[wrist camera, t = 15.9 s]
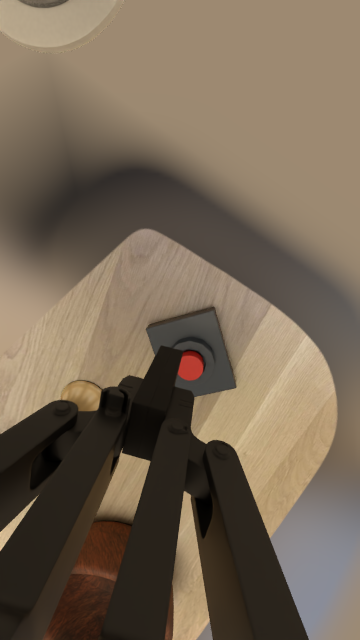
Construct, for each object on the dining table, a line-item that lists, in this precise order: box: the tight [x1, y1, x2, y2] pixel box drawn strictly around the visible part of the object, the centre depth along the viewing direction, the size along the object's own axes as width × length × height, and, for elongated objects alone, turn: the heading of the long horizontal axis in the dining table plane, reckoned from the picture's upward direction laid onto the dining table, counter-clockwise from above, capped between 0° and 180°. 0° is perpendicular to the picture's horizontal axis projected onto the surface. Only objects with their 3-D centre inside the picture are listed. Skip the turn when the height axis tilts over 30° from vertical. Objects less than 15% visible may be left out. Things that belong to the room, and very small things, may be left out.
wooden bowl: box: [43, 521, 174, 640], centre depth 51 cm, size 25×25×10 cm
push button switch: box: [146, 307, 236, 397], centre depth 40 cm, size 12×10×4 cm
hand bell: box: [61, 381, 102, 411], centre depth 39 cm, size 8×8×16 cm
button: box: [178, 351, 204, 380], centre depth 38 cm, size 4×4×2 cm
